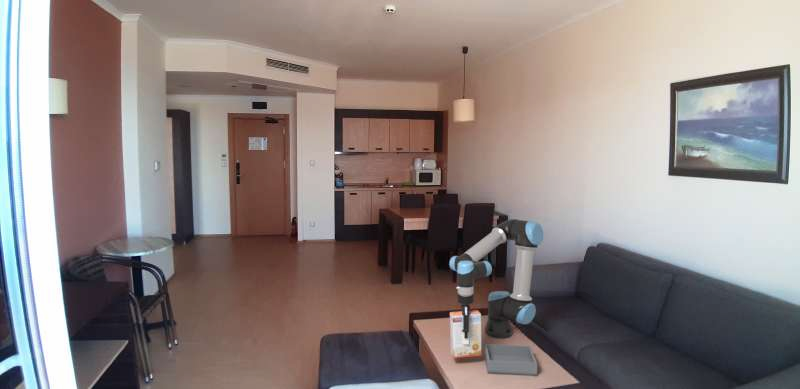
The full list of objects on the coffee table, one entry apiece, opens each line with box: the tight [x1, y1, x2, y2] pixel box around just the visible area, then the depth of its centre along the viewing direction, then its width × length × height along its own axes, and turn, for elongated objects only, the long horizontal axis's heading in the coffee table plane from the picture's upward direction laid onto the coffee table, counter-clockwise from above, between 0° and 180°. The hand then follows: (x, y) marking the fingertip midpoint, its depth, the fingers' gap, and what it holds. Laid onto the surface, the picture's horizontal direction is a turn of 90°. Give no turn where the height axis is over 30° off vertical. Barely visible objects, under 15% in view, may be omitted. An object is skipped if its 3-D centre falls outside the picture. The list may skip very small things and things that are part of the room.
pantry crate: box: [484, 343, 538, 377], centre depth 210 cm, size 18×22×6 cm
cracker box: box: [449, 309, 482, 359], centre depth 211 cm, size 14×6×21 cm, turn 98°
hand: (465, 340), depth 211 cm, fingers closed on cracker box, 7 cm apart
